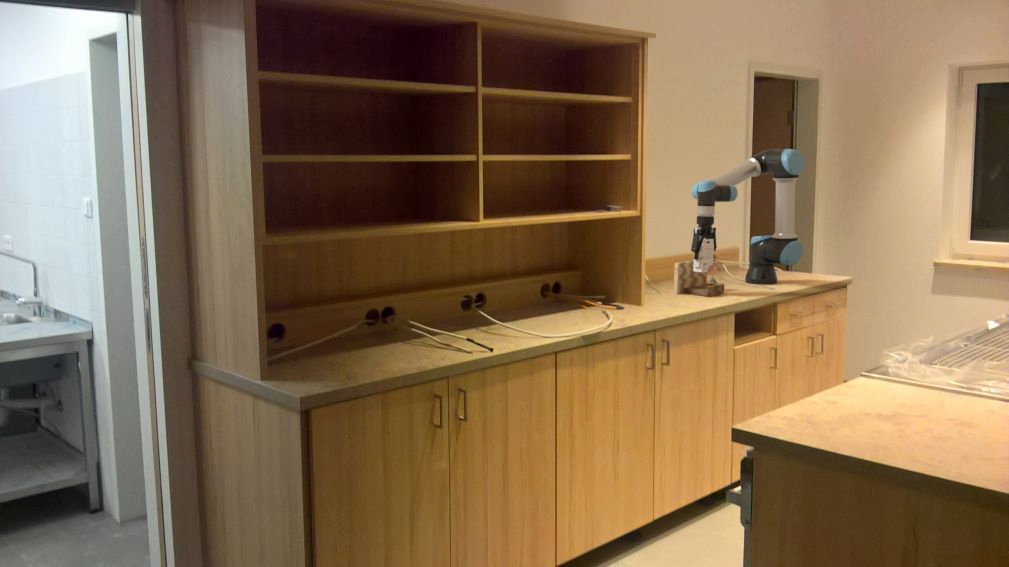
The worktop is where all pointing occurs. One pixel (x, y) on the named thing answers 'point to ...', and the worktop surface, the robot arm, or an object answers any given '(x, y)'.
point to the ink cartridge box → (706, 256)
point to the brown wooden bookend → (693, 281)
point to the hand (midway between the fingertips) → (703, 266)
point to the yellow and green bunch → (712, 281)
